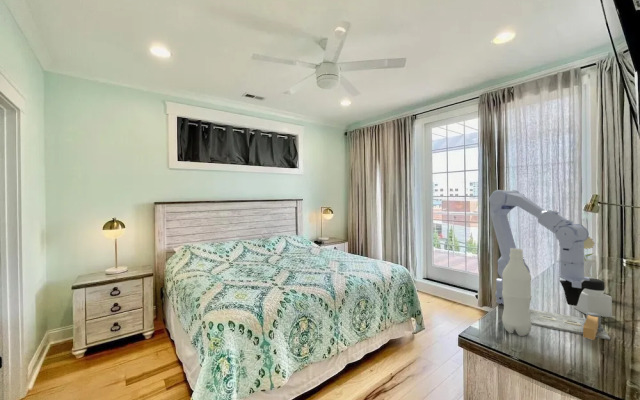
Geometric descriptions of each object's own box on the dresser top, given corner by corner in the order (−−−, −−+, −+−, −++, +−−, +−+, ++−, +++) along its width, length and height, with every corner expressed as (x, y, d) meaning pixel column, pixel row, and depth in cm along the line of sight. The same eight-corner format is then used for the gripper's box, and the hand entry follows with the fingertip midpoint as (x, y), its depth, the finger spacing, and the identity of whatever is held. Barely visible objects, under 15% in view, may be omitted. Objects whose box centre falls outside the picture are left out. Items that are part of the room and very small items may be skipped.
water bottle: (523, 340, 78) (523, 252, 78) (497, 329, 84) (497, 248, 84) (536, 334, 81) (536, 250, 81) (510, 324, 88) (510, 246, 88)
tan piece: (596, 341, 75) (596, 329, 75) (580, 337, 77) (580, 325, 77) (601, 324, 85) (601, 314, 85) (587, 321, 87) (587, 311, 87)
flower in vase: (613, 295, 115) (613, 236, 115) (586, 295, 115) (586, 236, 116) (584, 286, 128) (584, 232, 128) (559, 285, 128) (559, 232, 129)
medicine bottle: (612, 317, 93) (612, 282, 93) (588, 315, 95) (587, 281, 95) (596, 309, 100) (596, 276, 100) (573, 308, 102) (573, 275, 102)
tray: (530, 324, 88) (530, 321, 88) (527, 309, 100) (527, 307, 100) (611, 340, 78) (611, 336, 78) (597, 322, 90) (597, 319, 90)
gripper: (595, 268, 80) (595, 315, 80) (583, 259, 92) (583, 300, 92) (563, 265, 84) (563, 309, 83) (555, 257, 96) (555, 296, 96)
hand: (571, 304), depth 88 cm, fingers closed
